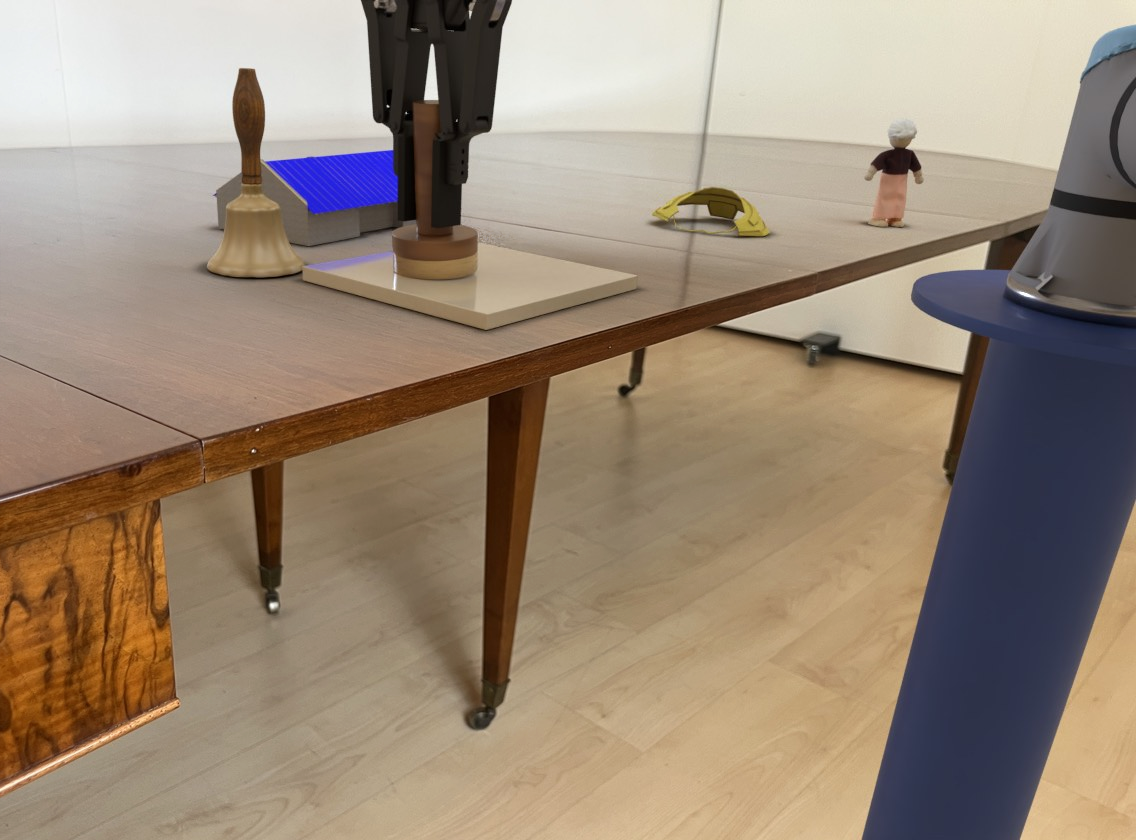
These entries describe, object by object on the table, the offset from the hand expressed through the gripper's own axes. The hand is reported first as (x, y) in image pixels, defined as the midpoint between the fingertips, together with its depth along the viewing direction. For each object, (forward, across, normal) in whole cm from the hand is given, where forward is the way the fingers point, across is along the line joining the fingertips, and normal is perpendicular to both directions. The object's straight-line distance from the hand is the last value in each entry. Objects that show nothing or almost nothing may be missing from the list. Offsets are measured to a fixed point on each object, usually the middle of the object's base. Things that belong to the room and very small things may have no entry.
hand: (428, 221), depth 80 cm
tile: (+5, +2, +4) cm, 7 cm away
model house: (+5, -26, +14) cm, 30 cm away
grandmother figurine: (+6, +13, +70) cm, 71 cm away
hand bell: (+5, -14, -6) cm, 16 cm away
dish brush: (+4, 0, +1) cm, 4 cm away
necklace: (+6, 0, +50) cm, 50 cm away
